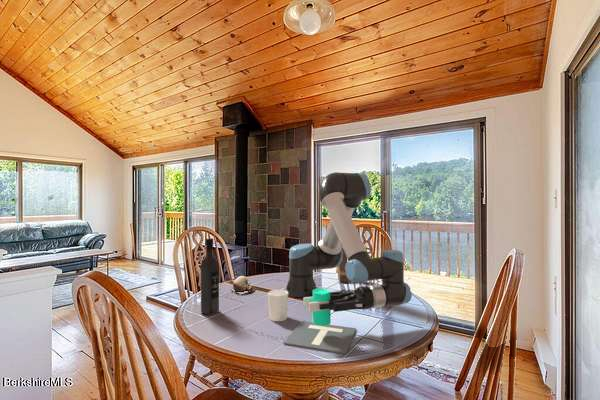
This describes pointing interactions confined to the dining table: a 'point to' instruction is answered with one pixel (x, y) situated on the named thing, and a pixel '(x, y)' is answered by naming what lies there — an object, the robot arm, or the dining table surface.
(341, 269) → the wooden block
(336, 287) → the dining table surface
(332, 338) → the letter pad
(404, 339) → the dining table surface
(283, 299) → the white cup
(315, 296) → the candle
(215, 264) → the black olive oil bottle
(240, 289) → the skull
